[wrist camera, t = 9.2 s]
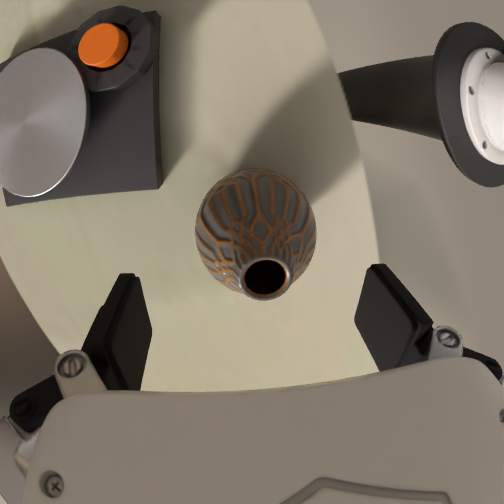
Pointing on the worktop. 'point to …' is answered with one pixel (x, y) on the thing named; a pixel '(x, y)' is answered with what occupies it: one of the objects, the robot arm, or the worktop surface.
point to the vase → (256, 233)
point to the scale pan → (41, 120)
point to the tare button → (103, 45)
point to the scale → (114, 112)
